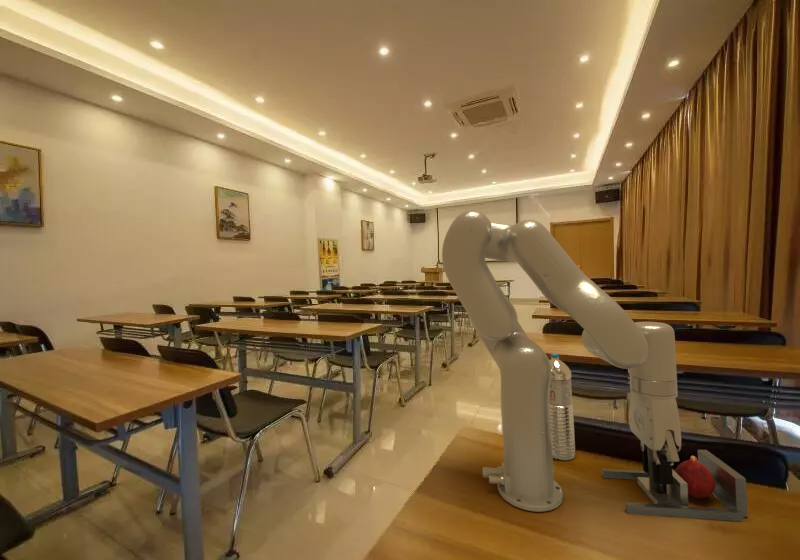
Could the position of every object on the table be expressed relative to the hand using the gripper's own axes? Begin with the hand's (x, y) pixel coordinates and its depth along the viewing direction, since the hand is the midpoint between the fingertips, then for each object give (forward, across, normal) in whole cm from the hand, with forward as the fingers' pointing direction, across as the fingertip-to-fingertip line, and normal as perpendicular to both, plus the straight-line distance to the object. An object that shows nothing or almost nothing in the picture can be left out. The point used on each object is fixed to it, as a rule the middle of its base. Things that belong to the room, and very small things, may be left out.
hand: (657, 476), depth 67 cm
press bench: (+4, 0, +2) cm, 4 cm away
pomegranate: (+4, 0, +6) cm, 8 cm away
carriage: (+4, 0, 0) cm, 4 cm away
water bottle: (+4, -14, -14) cm, 21 cm away
